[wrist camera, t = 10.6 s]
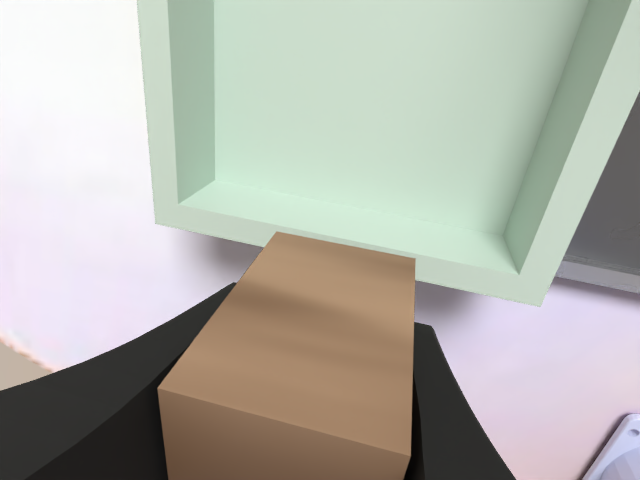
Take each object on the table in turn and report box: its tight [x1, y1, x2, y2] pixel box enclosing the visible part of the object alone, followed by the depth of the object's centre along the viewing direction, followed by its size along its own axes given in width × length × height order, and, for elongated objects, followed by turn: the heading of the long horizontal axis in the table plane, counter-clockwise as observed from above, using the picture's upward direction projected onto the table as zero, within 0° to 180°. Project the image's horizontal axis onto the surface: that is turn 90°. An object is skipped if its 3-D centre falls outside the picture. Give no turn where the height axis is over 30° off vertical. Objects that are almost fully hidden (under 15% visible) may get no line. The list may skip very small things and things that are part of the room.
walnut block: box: [157, 231, 416, 480], centre depth 10 cm, size 4×4×6 cm
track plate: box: [555, 91, 640, 294], centre depth 15 cm, size 16×28×1 cm, turn 82°
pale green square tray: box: [137, 0, 640, 307], centre depth 13 cm, size 14×14×5 cm
